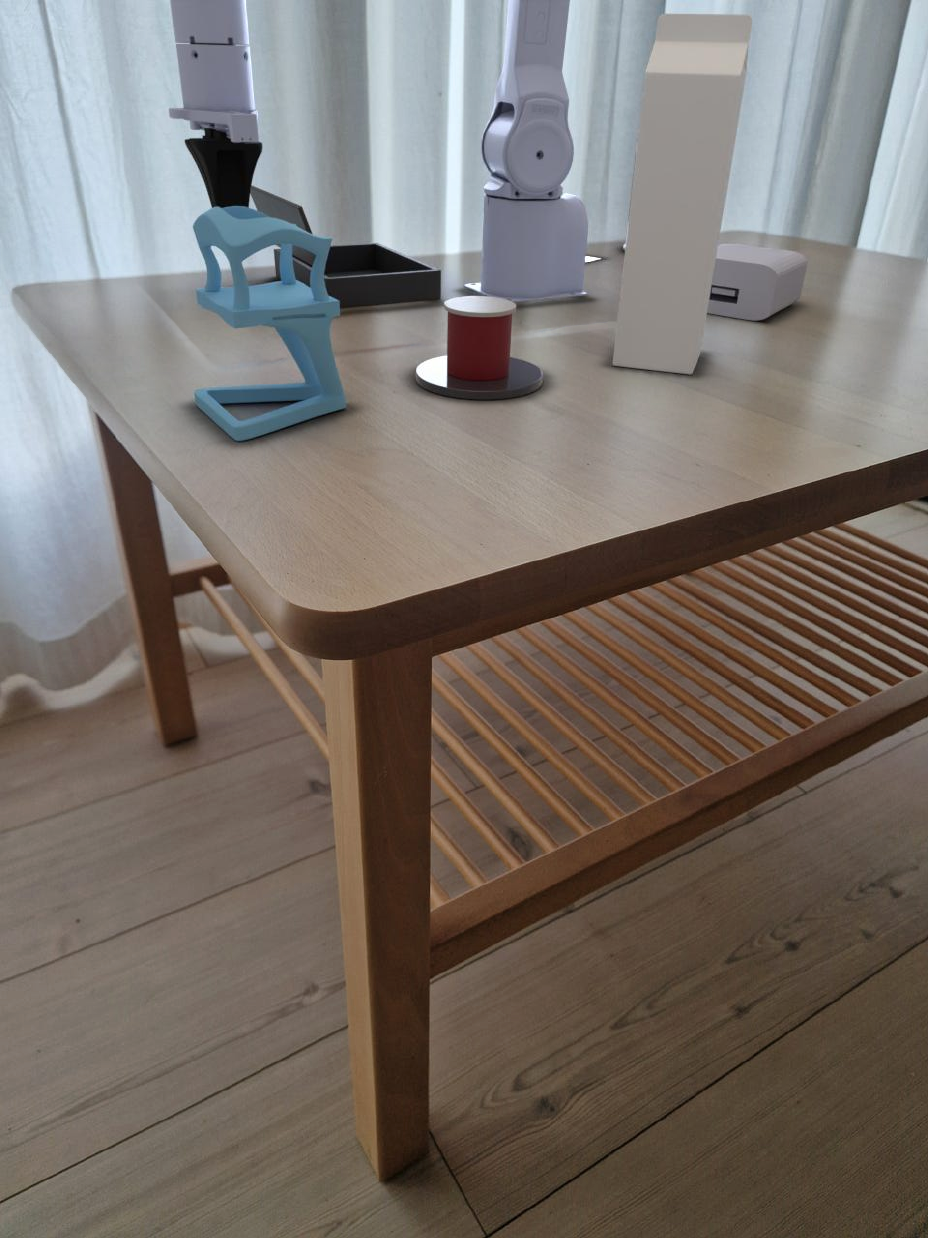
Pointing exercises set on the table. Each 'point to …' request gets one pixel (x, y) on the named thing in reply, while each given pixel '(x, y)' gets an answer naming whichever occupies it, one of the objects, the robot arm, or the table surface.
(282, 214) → the flap
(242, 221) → the chair
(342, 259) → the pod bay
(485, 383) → the coaster
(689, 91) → the milk
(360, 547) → the table surface
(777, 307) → the charger
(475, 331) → the cylinder
